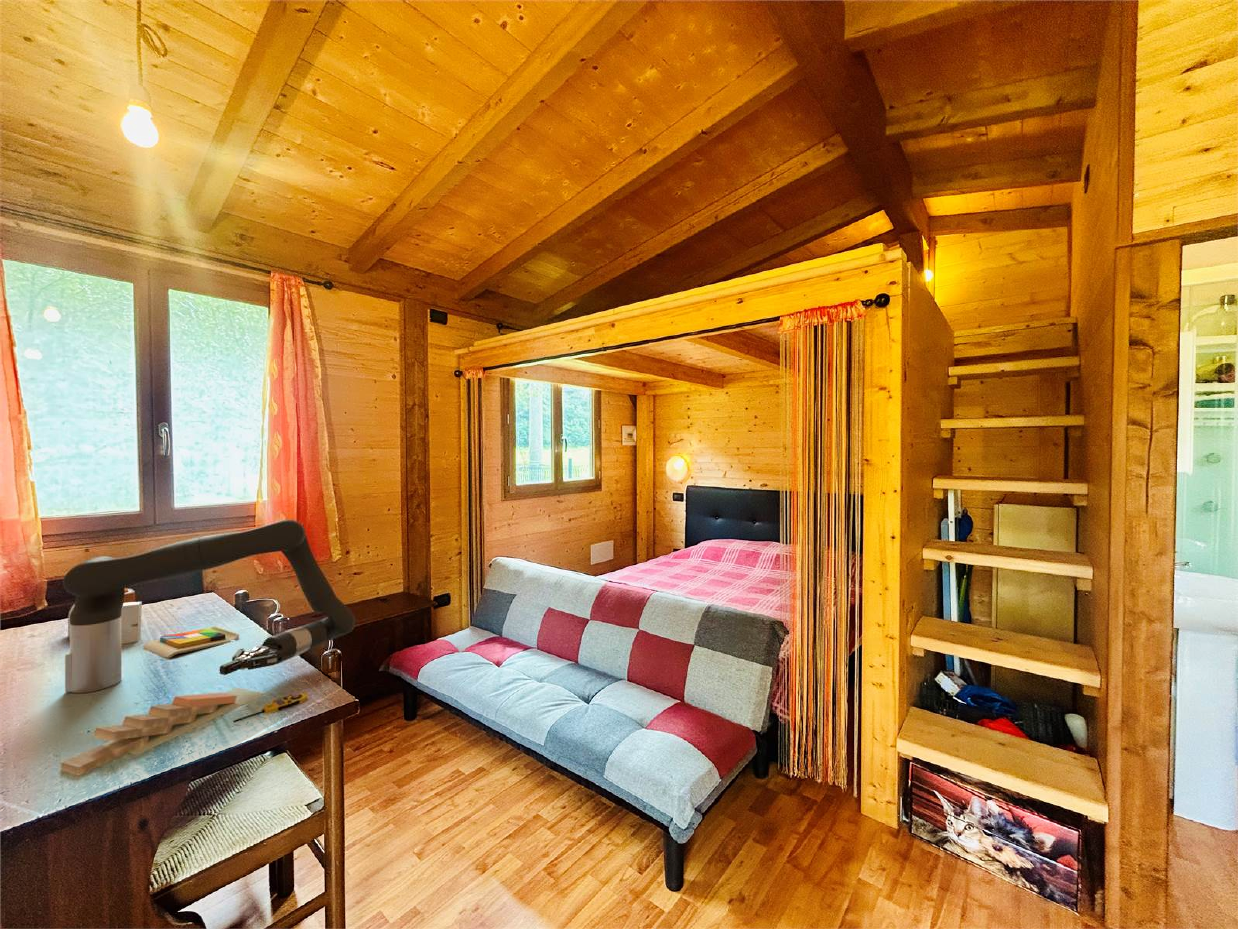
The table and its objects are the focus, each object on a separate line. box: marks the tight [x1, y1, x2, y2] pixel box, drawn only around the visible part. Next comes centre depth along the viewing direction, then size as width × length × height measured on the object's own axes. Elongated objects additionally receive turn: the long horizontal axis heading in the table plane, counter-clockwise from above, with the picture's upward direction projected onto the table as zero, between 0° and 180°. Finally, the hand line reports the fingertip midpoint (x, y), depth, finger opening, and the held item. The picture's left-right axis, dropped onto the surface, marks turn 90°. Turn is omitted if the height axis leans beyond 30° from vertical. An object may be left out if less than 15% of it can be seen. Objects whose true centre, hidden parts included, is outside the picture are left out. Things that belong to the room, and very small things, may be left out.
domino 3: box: [121, 713, 196, 729], centre depth 107 cm, size 2×5×11 cm
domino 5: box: [171, 692, 237, 707], centre depth 116 cm, size 2×5×11 cm
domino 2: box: [92, 724, 172, 742], centre depth 103 cm, size 2×5×11 cm
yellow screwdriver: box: [232, 692, 309, 723], centre depth 118 cm, size 5×2×15 cm
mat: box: [127, 687, 266, 756], centre depth 114 cm, size 27×10×1 cm, turn 164°
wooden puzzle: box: [142, 625, 240, 660], centre depth 157 cm, size 18×19×4 cm
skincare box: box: [121, 601, 143, 645], centre depth 158 cm, size 6×4×12 cm
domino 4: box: [147, 703, 217, 718], centre depth 112 cm, size 2×5×11 cm
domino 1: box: [60, 736, 148, 777], centre depth 99 cm, size 2×5×11 cm
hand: (222, 670), depth 119 cm, fingers closed
